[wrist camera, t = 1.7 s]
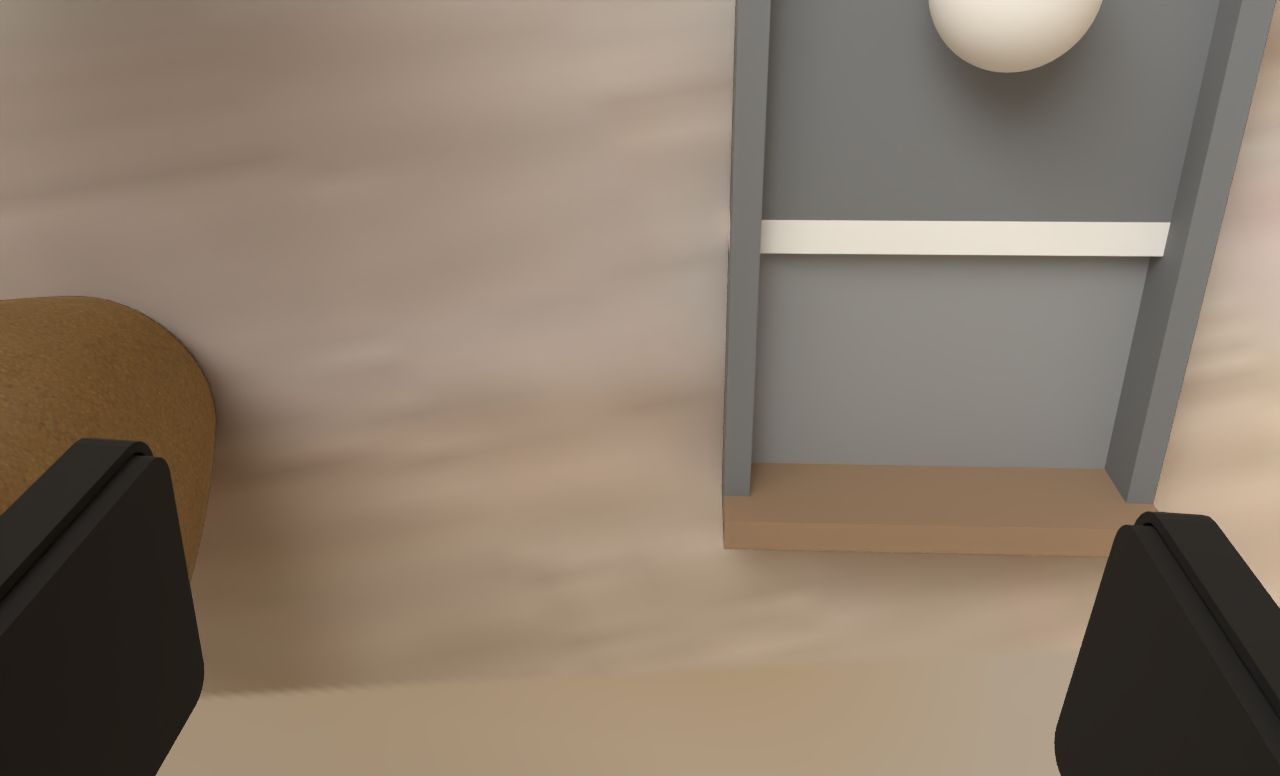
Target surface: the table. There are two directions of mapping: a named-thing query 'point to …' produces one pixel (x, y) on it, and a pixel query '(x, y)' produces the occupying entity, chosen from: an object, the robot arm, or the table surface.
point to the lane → (968, 272)
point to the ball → (1012, 30)
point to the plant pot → (102, 396)
